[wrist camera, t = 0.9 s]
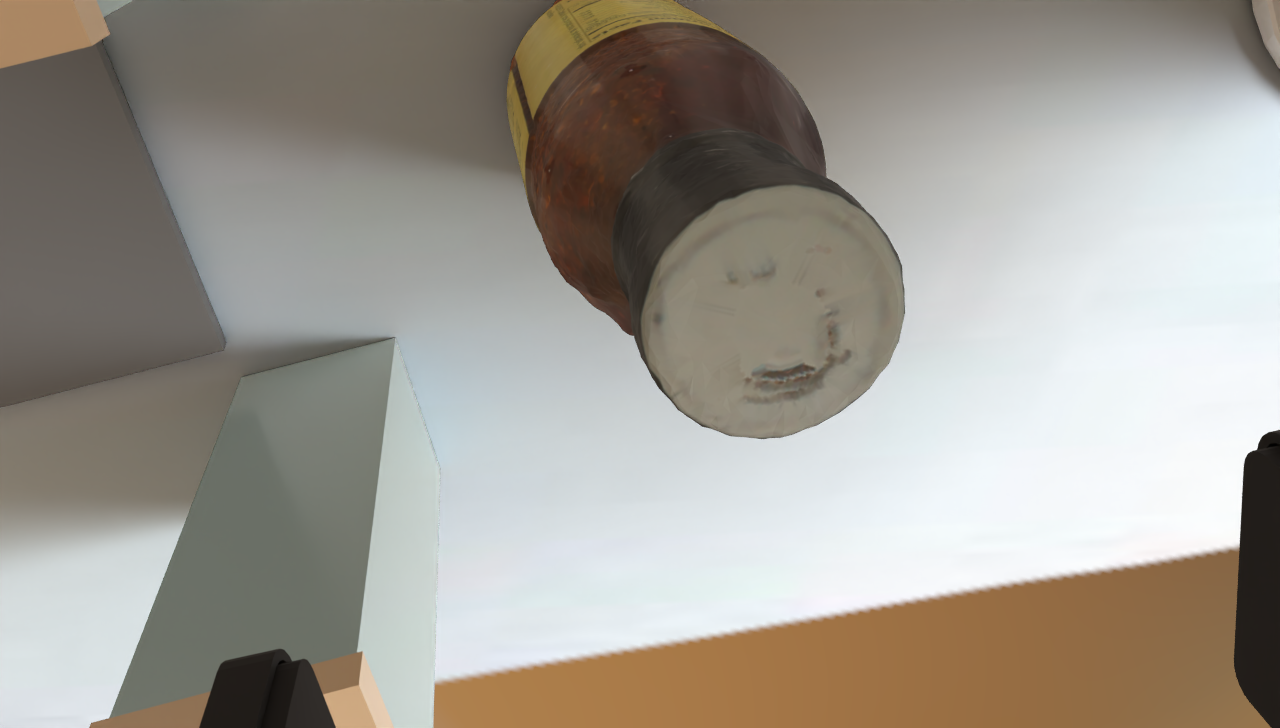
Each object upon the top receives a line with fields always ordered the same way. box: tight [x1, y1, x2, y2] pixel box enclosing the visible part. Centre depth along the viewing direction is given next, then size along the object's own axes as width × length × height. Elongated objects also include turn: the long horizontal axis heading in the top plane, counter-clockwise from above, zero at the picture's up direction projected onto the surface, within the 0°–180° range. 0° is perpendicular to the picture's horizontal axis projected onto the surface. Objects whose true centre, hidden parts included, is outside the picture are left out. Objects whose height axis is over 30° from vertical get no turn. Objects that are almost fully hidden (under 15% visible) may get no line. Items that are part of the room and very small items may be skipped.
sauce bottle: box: [507, 0, 905, 439], centre depth 26 cm, size 6×6×20 cm
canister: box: [89, 338, 440, 728], centre depth 31 cm, size 5×5×17 cm
